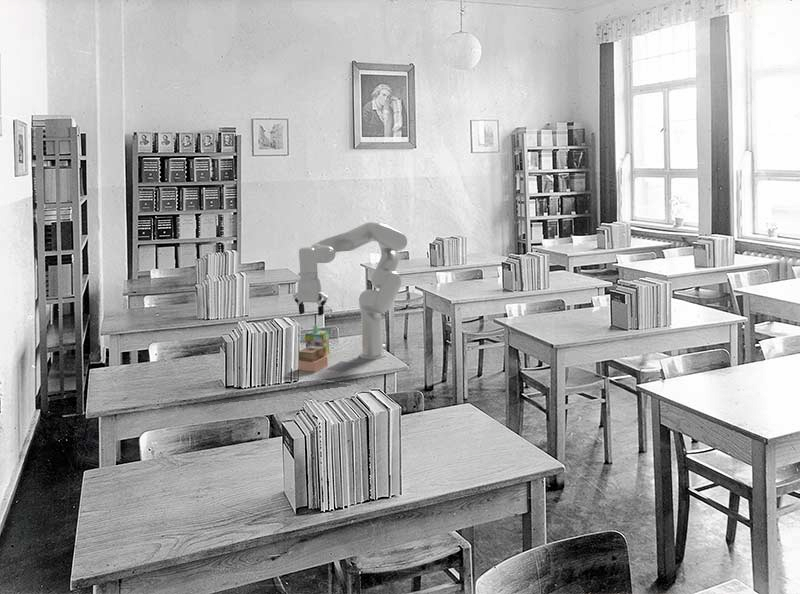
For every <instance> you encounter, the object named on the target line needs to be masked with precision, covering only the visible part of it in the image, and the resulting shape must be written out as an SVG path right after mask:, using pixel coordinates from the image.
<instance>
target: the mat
mask: <svg viewBox="0 0 800 594" xmlns="http://www.w3.org/2000/svg"><path fill="white" fill-rule="evenodd" d="M361 363H362V362H361ZM361 363H360V362H352V361H342V360H341V361H339V362H337V363H336V364H334V365H332V366H330V367H328V368H326V369H325V370H329V371H336V372H348V371H350V370H352V369H353V368H355V367H357V366H358V365H360V364H361Z"/></svg>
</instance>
